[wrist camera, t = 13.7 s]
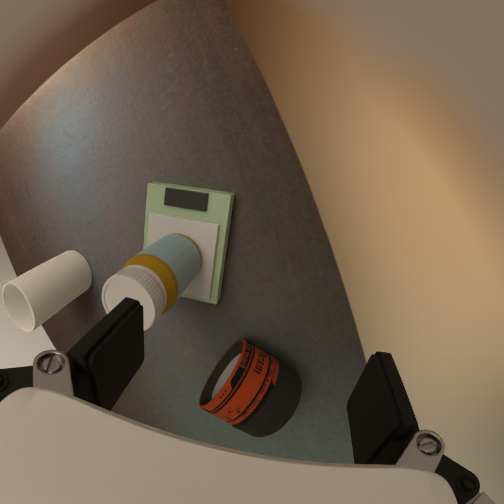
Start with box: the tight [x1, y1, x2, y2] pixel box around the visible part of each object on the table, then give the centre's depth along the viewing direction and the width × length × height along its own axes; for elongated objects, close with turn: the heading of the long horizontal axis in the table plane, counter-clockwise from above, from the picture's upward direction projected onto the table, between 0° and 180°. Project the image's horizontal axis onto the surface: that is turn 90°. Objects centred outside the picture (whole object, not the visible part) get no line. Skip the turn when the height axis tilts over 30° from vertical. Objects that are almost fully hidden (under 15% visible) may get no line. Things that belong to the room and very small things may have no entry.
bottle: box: [102, 233, 202, 331], centre depth 34 cm, size 7×7×15 cm
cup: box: [2, 250, 92, 332], centre depth 41 cm, size 8×8×16 cm
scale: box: [144, 182, 235, 304], centre depth 42 cm, size 16×12×3 cm
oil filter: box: [199, 339, 302, 437], centre depth 43 cm, size 13×12×13 cm
